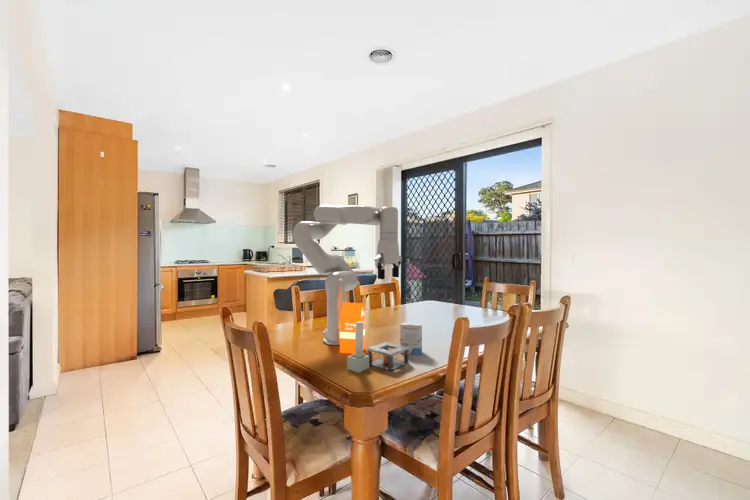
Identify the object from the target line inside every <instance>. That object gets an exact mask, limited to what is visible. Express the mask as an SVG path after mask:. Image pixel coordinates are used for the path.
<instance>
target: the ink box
mask: <svg viewBox="0 0 750 500" xmlns="http://www.w3.org/2000/svg"><path fill="white" fill-rule="evenodd" d="M399 328H400V329H399V330H400V333H399V334H400V335H399V340H400V341H399V342H400V343H399V345H401V346H406V347H409V355H418V356H420V355H422V353H423V323H413V322H402V323H400V326H399ZM400 354H404V352H401V353H400Z"/></svg>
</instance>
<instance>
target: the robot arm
mask: <svg viewBox="0 0 750 500" xmlns="http://www.w3.org/2000/svg"><path fill="white" fill-rule="evenodd" d="M313 217H314V219H315V220H316V221H310V220H305V221H304V220H303V221H300V222H298V223H296V224H295V225H294V228H293V231H292V232H293V233H292V237H293V242H294V244H295V247H297V249H298V250H299V251H300V252H301V253H302V254H303V255H304V257H305V258H306V259H307V260H308V262H309V263H310V265H311V266H312V267H313V269H314V270H315V272H317V273H318V274H319V275H321V276H326V278H325V281H324V288H325V294H326V295H325V296H326V328H325V329H324V331H322V335H325V337H324V338H323V343H324V344H326V345H330V346H340V315H341V310H342V305H343V302H346V303H349V298H348V295H347V293H346V292H349V291H352V290H354V289H356V287H357V286H358V282H359V279H358V276H357V274H356V273H355V271H354V270H353V268H351V266H350V265H349V264H348V263H347V262H346V260H345V259H344V258H343V257H342V256H340V255H339V254H336V253H335V254H334V253H332V254H329V253H327V252H326V251H325V250H324V249H323V247H322V246H321V245H320V244H318V242H316V241H315V240H322V239H324V238H325V237H326V236H328V235H329V234H330V233H331V232H332V231H333V229H334V228H336V227H337V226H338V225H341V226H343V225H345V226H346V225H347V224H352V225H353V224H354V225H368V226H379V240H378V243H377V248H376V257H374V259H373V260H374V262H375V265H374V266H376V269H377V279H378V280H385V277H386V276H385V275H386V274H385V273H386V269H385V267H386V265H391V266H392V268H391V277H392V278H399V277H400V267H401V264H402V260H403V257H402V256H401V255H400V245H399V209H398V208H397V207H395V206H382V207H381V208H380V207H373V206H367V205H344V204H343V205H339V204H338V205H335V204H333V205H330V204H321V205H318V206H317V207H316V208H315V209H314V211H313Z"/></svg>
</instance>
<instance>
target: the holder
mask: <svg viewBox="0 0 750 500" xmlns="http://www.w3.org/2000/svg"><path fill="white" fill-rule="evenodd" d="M346 366H347V367H346V369H347V370H349V371H352V372H355V373H359V374H360V373H361V372H364V371H366V370H369V369H370V365H369V356H368V355H367V354H364V353H363V358H361V359H356V358H355V354H353V353H352V354H350V355H348V356H346Z"/></svg>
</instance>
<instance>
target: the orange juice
mask: <svg viewBox="0 0 750 500" xmlns="http://www.w3.org/2000/svg"><path fill="white" fill-rule="evenodd" d="M365 317H366V314H365V309H364V304H363V302H348V303H346V302H343V305H342V310H341V315H340V345H339V353H340V354H341V353H342V354H352V355H353V354H355V330H356V322H364V324H363V351H364V350H365V337H366V323H365V322H366V318H365Z"/></svg>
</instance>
